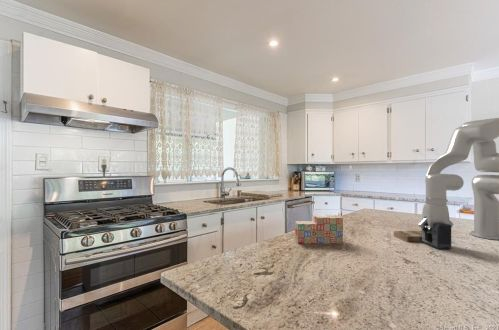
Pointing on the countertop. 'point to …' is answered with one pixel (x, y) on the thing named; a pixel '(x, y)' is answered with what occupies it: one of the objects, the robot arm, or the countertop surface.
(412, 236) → the walnut board
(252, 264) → the countertop surface
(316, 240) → the stack of blocks
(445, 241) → the small box
